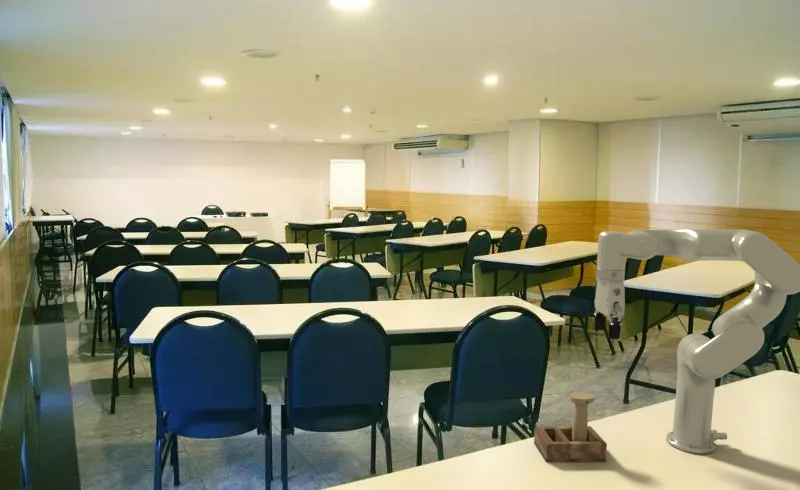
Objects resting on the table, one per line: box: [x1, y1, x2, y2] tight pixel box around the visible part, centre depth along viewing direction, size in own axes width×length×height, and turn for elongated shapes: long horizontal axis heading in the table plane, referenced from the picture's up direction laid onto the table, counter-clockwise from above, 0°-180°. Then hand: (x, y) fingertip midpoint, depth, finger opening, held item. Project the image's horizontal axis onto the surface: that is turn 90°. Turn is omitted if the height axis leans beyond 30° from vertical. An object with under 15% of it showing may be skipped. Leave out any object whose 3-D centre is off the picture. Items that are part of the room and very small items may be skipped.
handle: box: [569, 391, 595, 441], centre depth 160 cm, size 5×6×15 cm
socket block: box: [533, 425, 608, 463], centre depth 160 cm, size 16×11×5 cm
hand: (606, 334), depth 169 cm, fingers open, 9 cm apart
